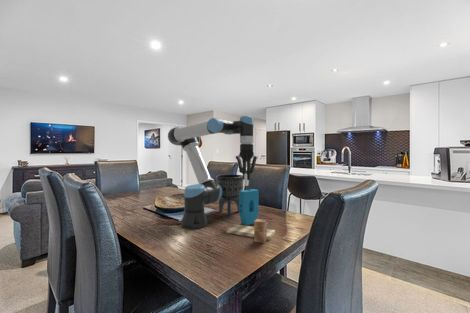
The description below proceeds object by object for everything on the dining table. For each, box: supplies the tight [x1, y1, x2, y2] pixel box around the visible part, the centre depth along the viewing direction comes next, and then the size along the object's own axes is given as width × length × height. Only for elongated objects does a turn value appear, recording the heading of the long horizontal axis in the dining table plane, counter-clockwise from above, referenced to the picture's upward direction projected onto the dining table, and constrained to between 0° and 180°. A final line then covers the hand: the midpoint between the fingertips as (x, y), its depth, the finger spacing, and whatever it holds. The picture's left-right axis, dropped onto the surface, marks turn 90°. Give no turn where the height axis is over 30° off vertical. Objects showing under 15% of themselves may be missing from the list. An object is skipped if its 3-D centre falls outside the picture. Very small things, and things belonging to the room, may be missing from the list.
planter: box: [215, 174, 244, 217], centre depth 160 cm, size 20×20×26 cm
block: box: [238, 188, 260, 226], centre depth 137 cm, size 12×5×20 cm, turn 125°
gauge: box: [253, 218, 269, 244], centre depth 113 cm, size 5×12×10 cm, turn 155°
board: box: [226, 223, 276, 241], centre depth 121 cm, size 24×10×2 cm, turn 65°
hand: (246, 185), depth 128 cm, fingers closed
